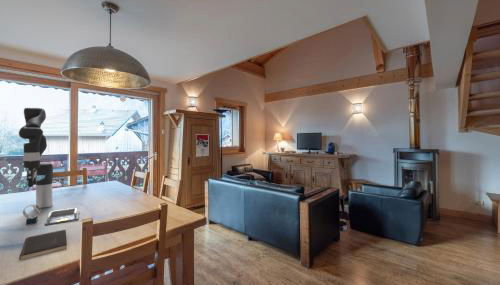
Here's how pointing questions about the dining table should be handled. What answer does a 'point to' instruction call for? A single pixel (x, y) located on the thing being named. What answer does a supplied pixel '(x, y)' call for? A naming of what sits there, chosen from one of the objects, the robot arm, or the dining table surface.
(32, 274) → the dining table surface
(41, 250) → the hardcover book
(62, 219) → the rack
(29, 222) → the watch
